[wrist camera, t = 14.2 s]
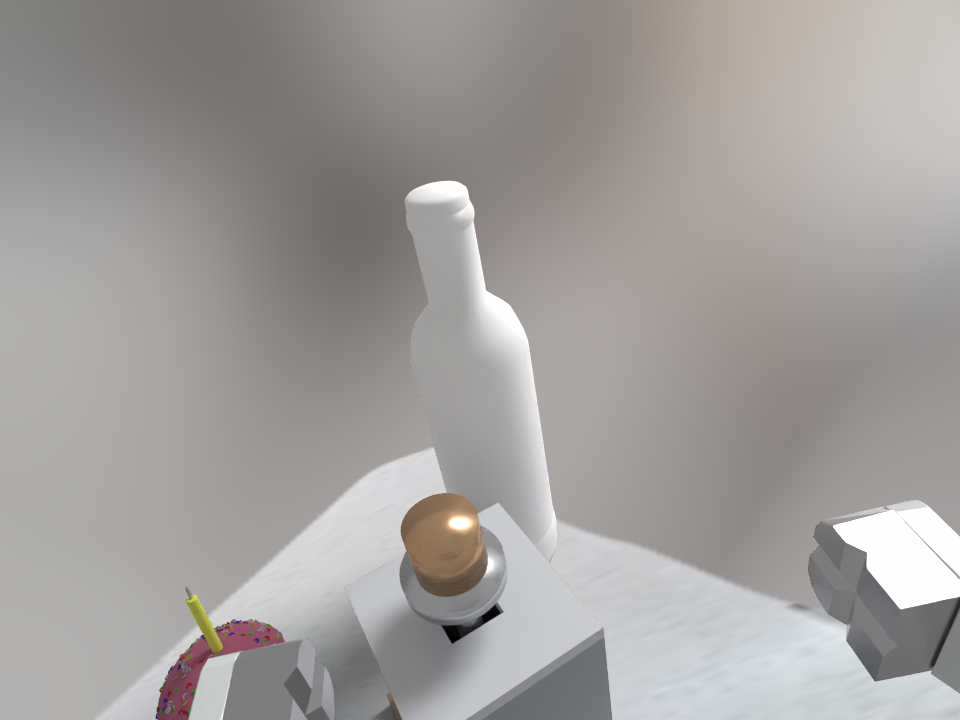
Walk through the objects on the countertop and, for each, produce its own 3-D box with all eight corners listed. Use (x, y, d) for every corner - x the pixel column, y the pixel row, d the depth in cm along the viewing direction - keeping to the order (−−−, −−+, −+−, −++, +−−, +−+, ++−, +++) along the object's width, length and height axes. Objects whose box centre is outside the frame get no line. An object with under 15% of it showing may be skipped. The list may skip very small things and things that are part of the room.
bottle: (443, 553, 51) (336, 208, 34) (503, 493, 55) (434, 162, 39) (518, 602, 46) (434, 228, 29) (577, 532, 50) (534, 172, 34)
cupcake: (206, 673, 45) (128, 572, 39) (319, 647, 46) (260, 542, 39) (175, 805, 38) (73, 709, 32) (309, 773, 39) (235, 671, 32)
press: (527, 617, 45) (501, 493, 38) (627, 755, 36) (618, 629, 29) (390, 704, 41) (332, 585, 34) (466, 879, 33) (410, 770, 26)
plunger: (517, 636, 42) (472, 442, 32) (585, 734, 36) (554, 535, 26) (418, 699, 40) (336, 511, 30) (474, 816, 34) (395, 630, 24)
